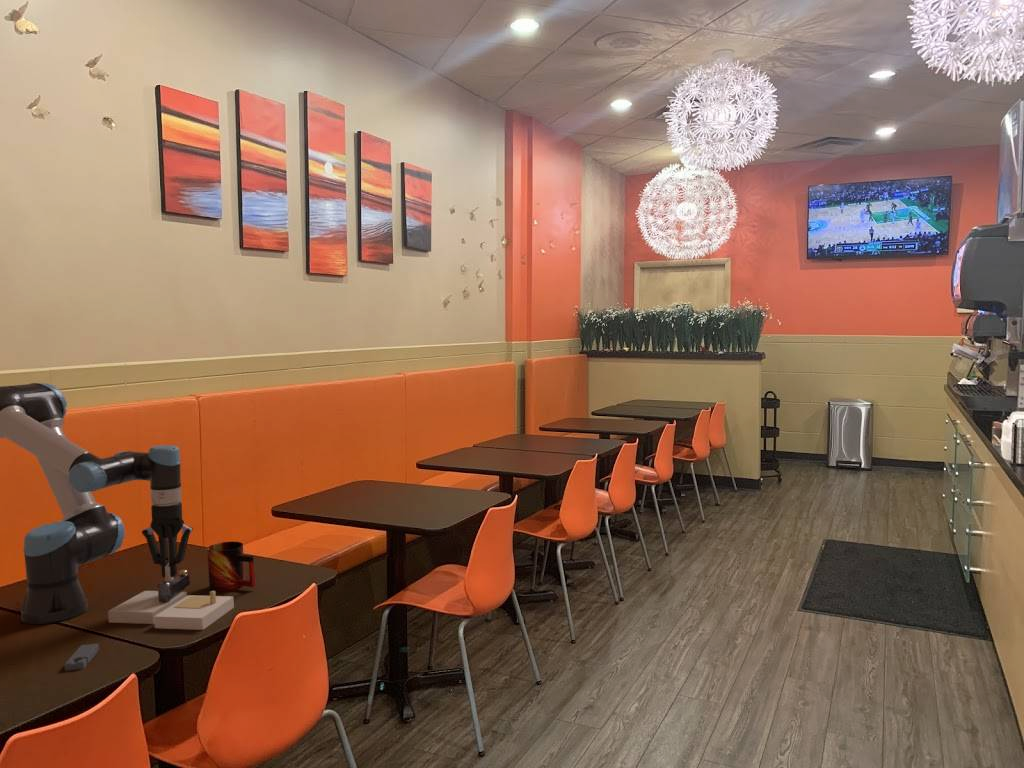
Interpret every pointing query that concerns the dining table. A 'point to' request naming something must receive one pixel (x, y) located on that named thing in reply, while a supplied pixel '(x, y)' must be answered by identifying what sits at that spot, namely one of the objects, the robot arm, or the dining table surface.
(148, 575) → the dining table surface
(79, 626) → the dining table surface
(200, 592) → the dining table surface
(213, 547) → the mug
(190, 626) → the door slab
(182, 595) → the block
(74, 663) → the bracket
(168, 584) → the bar
